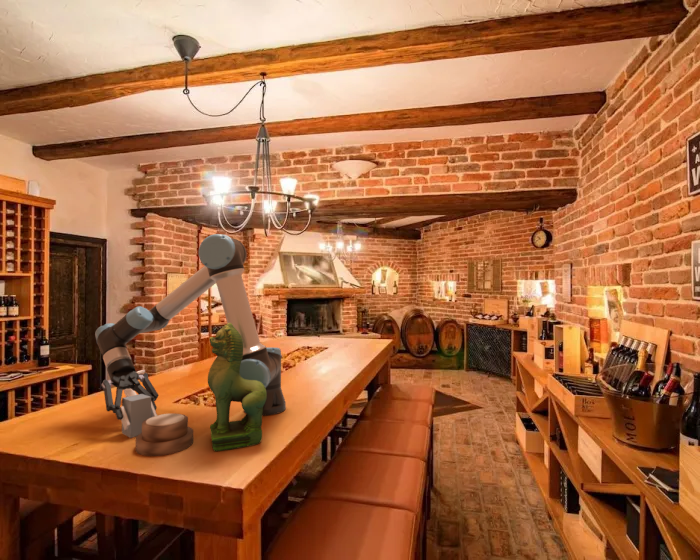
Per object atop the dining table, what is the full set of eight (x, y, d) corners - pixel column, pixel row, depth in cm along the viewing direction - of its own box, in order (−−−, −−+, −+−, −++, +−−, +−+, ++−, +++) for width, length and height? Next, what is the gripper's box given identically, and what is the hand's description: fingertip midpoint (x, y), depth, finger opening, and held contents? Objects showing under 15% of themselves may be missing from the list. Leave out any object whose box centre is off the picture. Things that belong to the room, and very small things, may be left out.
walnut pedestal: (200, 434, 122) (200, 410, 122) (181, 455, 107) (181, 427, 107) (150, 435, 121) (150, 411, 121) (124, 456, 106) (125, 428, 106)
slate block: (141, 428, 127) (142, 393, 128) (150, 432, 124) (151, 396, 124) (121, 433, 123) (122, 397, 123) (130, 438, 119) (131, 401, 119)
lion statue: (206, 437, 120) (206, 321, 120) (261, 429, 126) (261, 319, 127) (208, 454, 107) (209, 325, 108) (269, 445, 114) (270, 323, 114)
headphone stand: (137, 403, 155) (137, 372, 155) (123, 402, 155) (123, 371, 156) (144, 399, 159) (145, 369, 160) (130, 399, 160) (131, 369, 160)
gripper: (146, 366, 141) (169, 421, 131) (80, 376, 125) (101, 440, 115) (154, 353, 138) (178, 408, 128) (87, 361, 122) (108, 426, 111)
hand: (141, 423), depth 121 cm, fingers open, 8 cm apart
